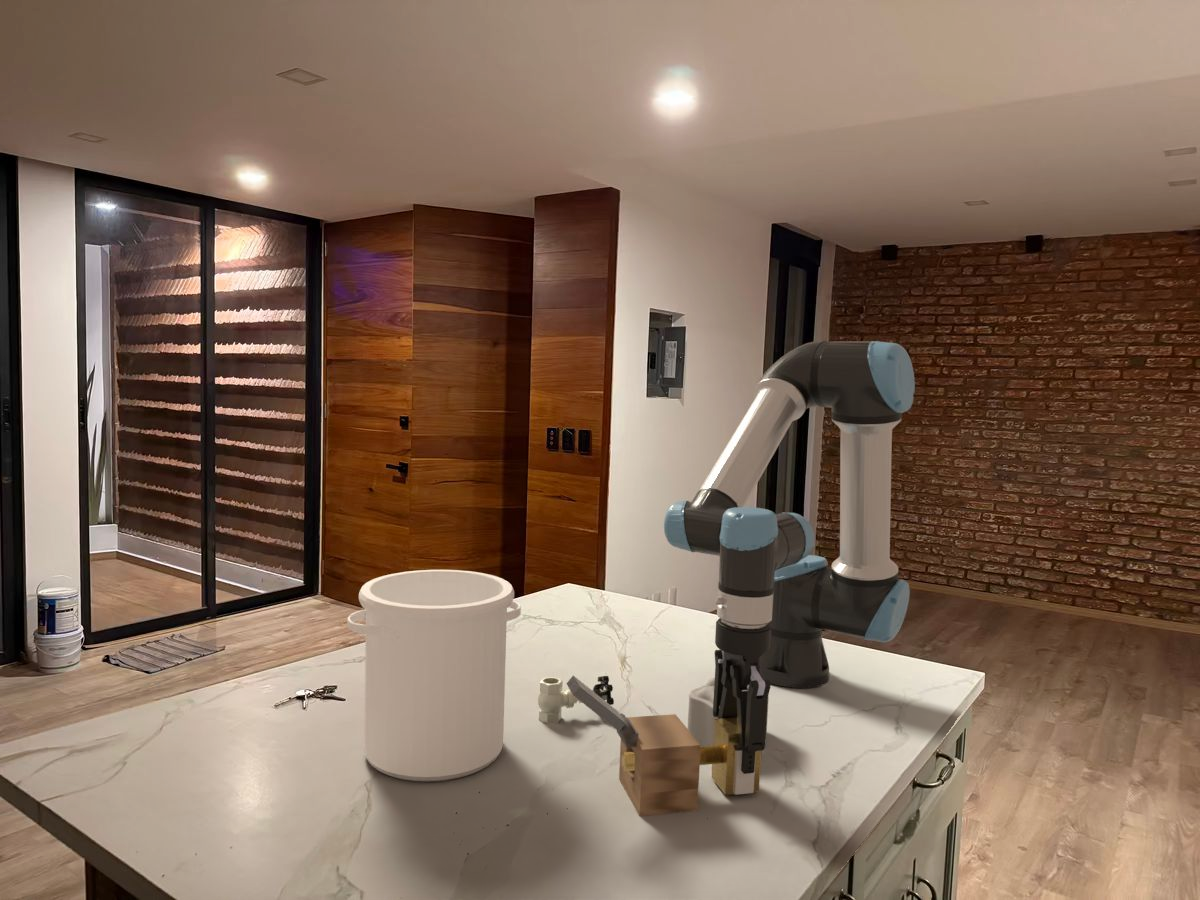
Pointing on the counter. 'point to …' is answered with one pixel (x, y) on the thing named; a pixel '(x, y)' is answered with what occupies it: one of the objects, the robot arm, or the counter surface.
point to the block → (660, 764)
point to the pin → (716, 755)
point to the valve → (565, 697)
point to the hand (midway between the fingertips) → (734, 781)
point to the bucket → (434, 671)
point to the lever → (595, 703)
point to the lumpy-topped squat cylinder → (703, 713)
